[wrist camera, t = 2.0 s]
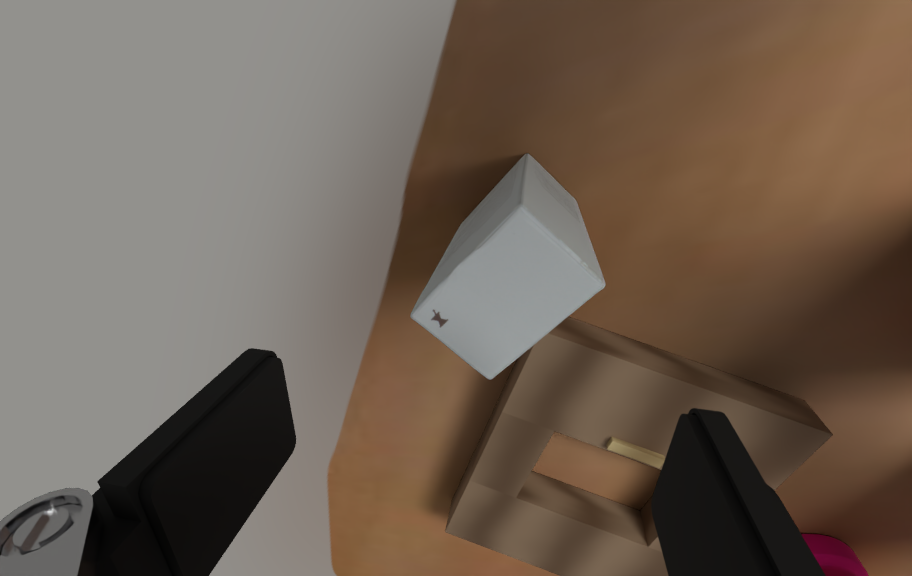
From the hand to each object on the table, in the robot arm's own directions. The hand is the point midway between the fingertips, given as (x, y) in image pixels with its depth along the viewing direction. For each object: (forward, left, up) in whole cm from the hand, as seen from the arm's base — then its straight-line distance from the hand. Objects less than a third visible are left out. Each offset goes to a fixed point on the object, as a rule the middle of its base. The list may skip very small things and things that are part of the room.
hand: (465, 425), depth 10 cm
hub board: (+19, +8, -18) cm, 27 cm away
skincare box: (0, 0, -18) cm, 18 cm away
